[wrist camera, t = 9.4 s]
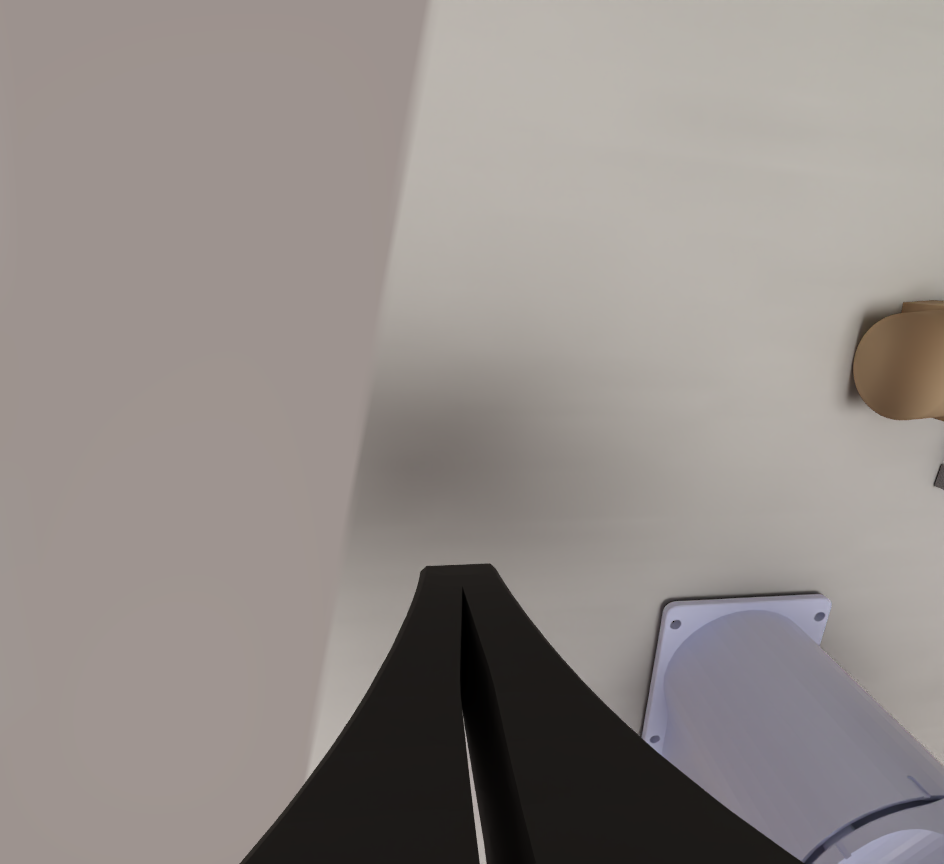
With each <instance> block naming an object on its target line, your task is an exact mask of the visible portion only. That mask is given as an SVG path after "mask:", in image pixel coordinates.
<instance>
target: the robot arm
mask: <svg viewBox="0 0 944 864" xmlns="http://www.w3.org/2000/svg"><path fill="white" fill-rule="evenodd" d="M831 606H832V603H831V600H829V599H828V598H827V597H826V596H824V595H823V594H808V595H789V596H769V597H750V598H730V599H711V600H691V601H674V602H670V603H669V604H667V605H666V606H665V607H664V610H663V615H662V620H661V626H660V632H659V638H658V644H657V650H656V656H655V662H654V668H653V673H652V679H651V685H650V691H649V697H648V703H647V709H646V715H645V721H644V726H643V732H642V738H641V737H640V736H639V735H638V734H637V733H635V732H634V731H633V730H632V729H631V728H630V727H629V726H628V725H627V724H626V723H625V722H623V721H622V720H621V719H620V718H619V717H618V716H617V715H616V714H615V713H614V712H613V711H612V710H611V709H610V708H609V707H608V706H607V705H606V704H605V703H604V702H603V701H602V700H601V699H600V698H599V697H598V696H597V695H596V694H595V693H594V692H593V691H592V690H591V689H590V688H589V687H588V686H587V685H586V684H585V683H584V682H583V681H582V680H581V679H580V678H579V676H578V675H577V674H576V673H575V672H574V671H573V670H572V669H571V668H570V666H569V665H568V664H567V663H566V662H565V661H564V660H563V659H562V658H561V656H560V655H559V654H558V653H557V652H556V651H555V649H554V648H553V647H552V646H551V645H550V643H549V642H548V641H547V640H546V638H545V637H544V636H543V635H542V633H541V632H540V631H539V630H538V628H537V627H536V626H535V625H534V623H533V622H532V621H531V620H530V618H529V617H528V616H527V614H526V613H525V612H524V610H523V609H522V608H521V606H520V605H519V603H518V602H517V601H516V599H515V598H514V596H513V595H512V594H511V592H510V591H509V589H508V588H507V586H506V585H505V583H504V582H503V580H502V578H501V577H500V575H499V573H498V572H497V570H496V568H494V567H493V566H492V565H491V564H467V565H444V566H426V567H425V568H424V569H423V570H422V571H421V572H420V578H419V582H418V586H417V589H416V592H415V595H414V598H413V601H412V603H411V606H410V608H409V611H408V613H407V616H406V618H405V620H404V622H403V624H402V626H401V629H400V631H399V633H398V635H397V637H396V639H395V642H394V644H393V646H392V648H391V650H390V652H389V653H388V655H387V657H386V659H385V661H384V662H383V664H382V666H381V668H380V670H379V671H378V673H377V675H376V677H375V679H374V681H373V682H372V684H371V686H370V688H369V689H368V691H367V693H366V694H365V696H364V698H363V699H362V701H361V703H360V704H359V706H358V707H357V709H356V711H355V712H354V714H353V715H352V717H351V718H350V720H349V721H348V723H347V724H346V726H345V727H344V729H343V730H342V732H341V733H340V735H339V736H338V738H337V739H336V741H335V742H334V744H333V745H332V747H331V748H330V750H329V751H328V752H327V754H326V755H325V756H324V758H323V759H322V761H321V762H320V763H319V765H318V766H317V767H316V769H315V770H314V771H313V773H312V774H311V776H310V777H309V778H308V780H307V781H306V782H305V784H304V785H303V787H302V788H301V789H300V791H299V792H298V793H297V794H296V796H295V797H294V798H293V800H292V801H291V802H290V804H289V805H288V806H287V807H286V809H285V810H284V811H283V813H282V814H281V815H280V816H279V817H278V819H277V820H276V821H275V823H274V824H273V825H272V826H271V827H270V829H269V830H268V831H267V832H266V833H265V834H264V835H263V837H262V838H261V839H260V840H259V841H258V843H257V844H256V845H255V846H254V847H253V849H252V850H251V851H250V852H249V853H248V855H247V856H246V857H245V858H244V859H243V860H242V862H241V863H240V864H480V863H479V854H478V846H477V838H476V830H475V822H474V813H473V805H472V796H471V787H470V778H469V769H468V760H467V751H466V742H465V732H464V724H465V730H466V736H467V742H468V748H469V754H470V761H471V767H472V773H473V779H474V785H475V791H476V797H477V803H478V809H479V815H480V821H481V827H482V833H483V839H484V846H485V854H486V862H487V864H944V766H943V765H942V764H941V763H940V762H939V761H938V760H937V759H936V758H935V757H934V756H933V755H932V754H931V753H930V752H929V751H928V750H927V749H926V748H925V747H924V746H922V745H921V744H920V743H919V742H918V741H917V740H916V739H915V738H914V737H913V736H912V735H911V734H910V733H909V732H908V731H907V730H906V729H905V728H904V727H903V726H902V725H901V724H900V723H899V722H898V721H897V720H896V719H894V718H893V717H892V716H891V715H890V714H889V713H888V712H887V711H886V710H885V709H884V708H883V707H882V706H881V705H880V704H879V703H878V702H877V701H876V700H875V699H874V698H873V697H872V696H871V695H870V694H869V693H868V692H866V691H865V690H864V689H863V688H862V687H861V686H860V685H859V684H858V683H857V682H856V681H855V680H854V679H853V678H852V677H851V676H850V675H849V674H848V673H847V672H846V671H845V670H844V669H843V668H842V667H841V666H839V665H838V664H837V663H836V662H835V661H834V660H833V659H832V658H831V657H830V656H829V655H828V654H827V653H826V652H825V651H824V650H823V649H822V648H821V647H820V643H821V640H822V636H823V633H824V630H825V626H826V623H827V620H828V617H829V613H830V610H831ZM674 620H676V621H675V622H674V623H671V622H673V621H674ZM462 711H463V713H462ZM463 718H464V723H463Z"/></svg>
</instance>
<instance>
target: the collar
mask: <svg viewBox="0 0 944 864" xmlns="http://www.w3.org/2000/svg"><path fill="white" fill-rule="evenodd" d="M934 486H936V487H939V488H941V489H943V490H944V465H941V468H940V471H939V474H938V477H937V479H936V482H935V485H934Z"/></svg>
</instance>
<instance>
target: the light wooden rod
mask: <svg viewBox="0 0 944 864" xmlns="http://www.w3.org/2000/svg"><path fill="white" fill-rule="evenodd" d="M853 373H854V380H855V384H856V387H857V390H858V392H859V394H860V396H861V398H862V399H863V401H864V402H865V403H866V404H867V405H868V406H869V407H870V408H871V409H872V410H873V411H875V412H876V413H878V414H879V415H881V416H884V417H886V418H890V419H894V420H912V419H923V418H935V419H938V420H941V421H944V301H936V300H929V301H917V302H904V303H903V306H902V311H901V313H898V314H894V315H890V316H888V317H886V318H884V319H882V320H880V321H878V322H877V323H876V324H874V325H873V326H872V327H871V328H870V329H869V330H868V331H867V332H866V334H865V335H864V336H863V338H862V339H861V341H860V343H859V345H858V347H857V350H856V353H855V357H854V364H853Z"/></svg>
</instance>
